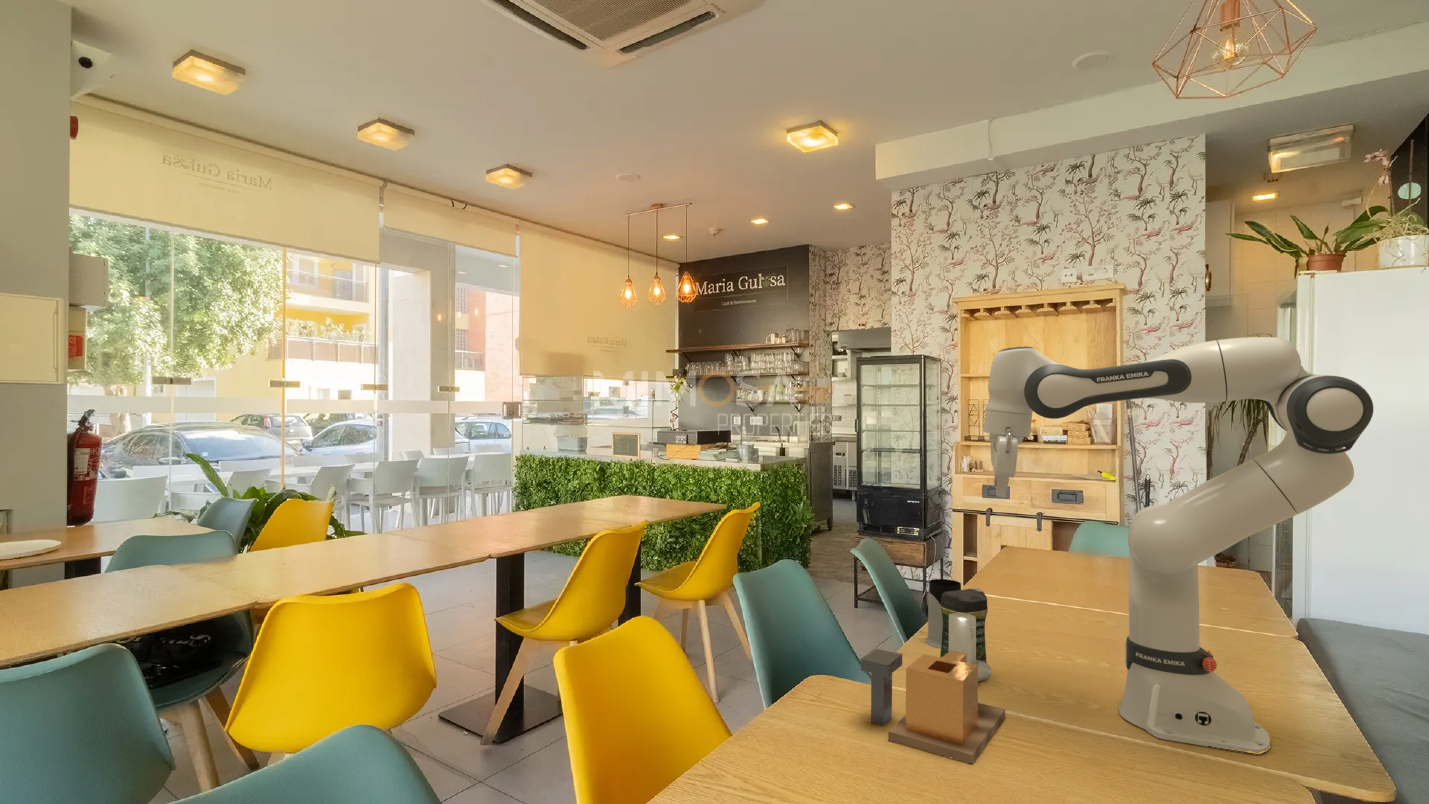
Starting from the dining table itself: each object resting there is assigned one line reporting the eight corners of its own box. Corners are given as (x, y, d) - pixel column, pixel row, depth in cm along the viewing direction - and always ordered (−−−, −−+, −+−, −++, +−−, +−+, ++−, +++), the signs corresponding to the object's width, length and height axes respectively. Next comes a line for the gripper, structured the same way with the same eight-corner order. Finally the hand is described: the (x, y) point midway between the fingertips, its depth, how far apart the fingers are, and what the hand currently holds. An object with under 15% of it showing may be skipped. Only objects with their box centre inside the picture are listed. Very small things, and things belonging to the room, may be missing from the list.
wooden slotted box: (943, 690, 138) (943, 606, 139) (996, 703, 133) (996, 615, 133) (904, 729, 121) (905, 633, 121) (964, 745, 115) (964, 644, 115)
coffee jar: (961, 687, 144) (962, 596, 144) (933, 675, 151) (933, 588, 151) (994, 680, 148) (994, 591, 149) (965, 668, 155) (965, 583, 156)
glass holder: (922, 637, 177) (922, 578, 177) (978, 639, 176) (979, 579, 177) (931, 649, 168) (931, 586, 169) (991, 650, 168) (991, 587, 168)
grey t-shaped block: (876, 710, 132) (876, 648, 132) (901, 717, 129) (902, 654, 130) (860, 723, 126) (861, 659, 127) (887, 731, 123) (887, 665, 124)
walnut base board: (930, 699, 138) (930, 691, 138) (1005, 717, 130) (1005, 709, 130) (888, 740, 120) (888, 731, 120) (972, 764, 112) (972, 754, 112)
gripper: (1028, 431, 132) (1019, 504, 133) (1020, 423, 151) (1012, 487, 152) (992, 428, 134) (984, 499, 135) (988, 420, 153) (981, 482, 154)
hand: (999, 492), depth 144 cm, fingers open, 8 cm apart
